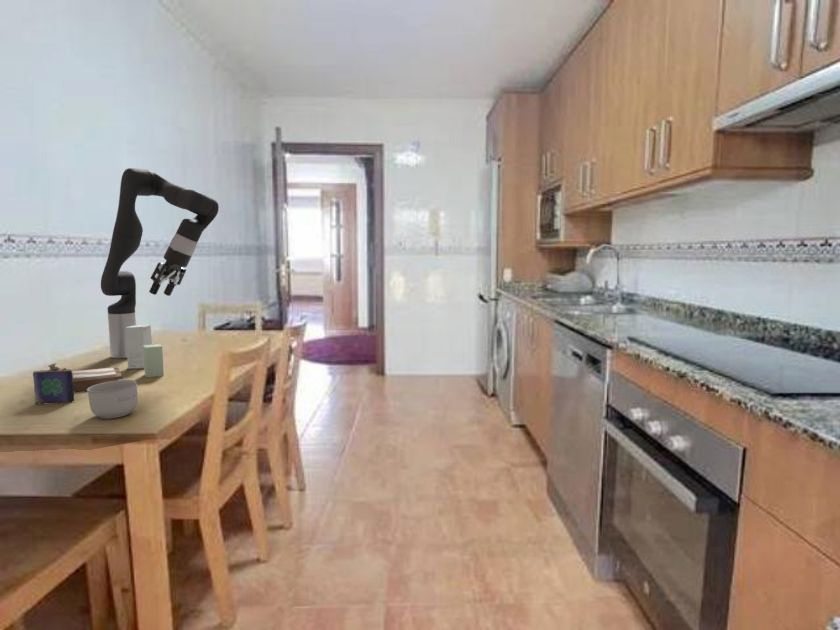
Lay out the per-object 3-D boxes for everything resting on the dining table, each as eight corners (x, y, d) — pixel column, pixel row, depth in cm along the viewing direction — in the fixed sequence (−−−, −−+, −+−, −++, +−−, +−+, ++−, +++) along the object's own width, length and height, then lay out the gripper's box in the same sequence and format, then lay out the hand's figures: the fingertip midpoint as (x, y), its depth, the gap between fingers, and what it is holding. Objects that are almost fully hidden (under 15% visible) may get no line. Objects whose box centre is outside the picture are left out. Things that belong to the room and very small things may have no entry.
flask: (33, 404, 138) (30, 365, 137) (39, 401, 141) (36, 363, 139) (71, 403, 140) (69, 364, 139) (76, 400, 143) (74, 362, 141)
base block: (67, 382, 161) (66, 371, 161) (118, 376, 169) (117, 365, 169) (68, 392, 150) (67, 380, 150) (123, 385, 158) (122, 374, 158)
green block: (144, 374, 173) (143, 345, 171) (161, 372, 175) (159, 343, 174) (146, 377, 168) (145, 347, 167) (163, 375, 171) (162, 346, 170)
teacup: (126, 421, 125) (124, 389, 124) (79, 422, 124) (77, 390, 123) (151, 404, 139) (149, 376, 138) (109, 405, 138) (107, 376, 137)
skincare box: (144, 368, 181) (142, 327, 179) (126, 369, 180) (124, 327, 178) (153, 363, 189) (151, 323, 187) (136, 364, 188) (134, 324, 187)
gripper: (181, 248, 177) (161, 290, 177) (159, 241, 163) (136, 287, 163) (200, 257, 177) (180, 300, 177) (179, 252, 162) (157, 298, 162)
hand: (159, 294), depth 170 cm, fingers open, 8 cm apart
